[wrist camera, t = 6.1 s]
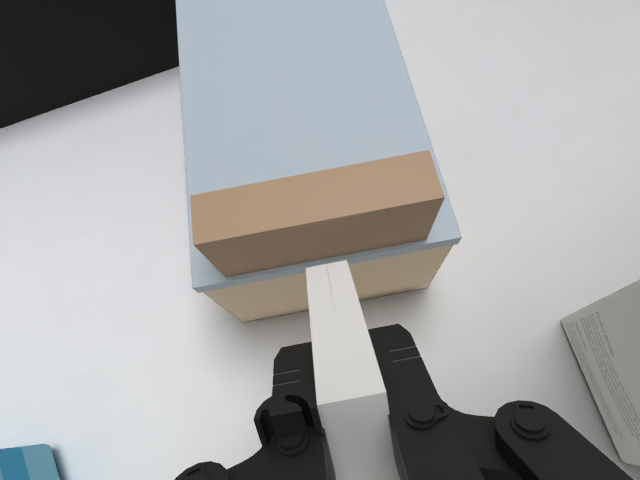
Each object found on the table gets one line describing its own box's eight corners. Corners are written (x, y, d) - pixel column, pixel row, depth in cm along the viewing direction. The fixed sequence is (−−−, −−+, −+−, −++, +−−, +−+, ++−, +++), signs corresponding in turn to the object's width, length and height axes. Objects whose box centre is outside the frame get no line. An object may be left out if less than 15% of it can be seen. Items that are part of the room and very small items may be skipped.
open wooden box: (427, 287, 27) (455, 241, 19) (242, 322, 27) (199, 289, 19) (362, 53, 34) (364, -44, 27) (218, 81, 34) (180, -8, 27)
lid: (457, 243, 19) (489, 194, 15) (198, 292, 19) (151, 257, 15) (363, -49, 27) (365, -140, 22) (179, -14, 27) (144, -97, 22)
